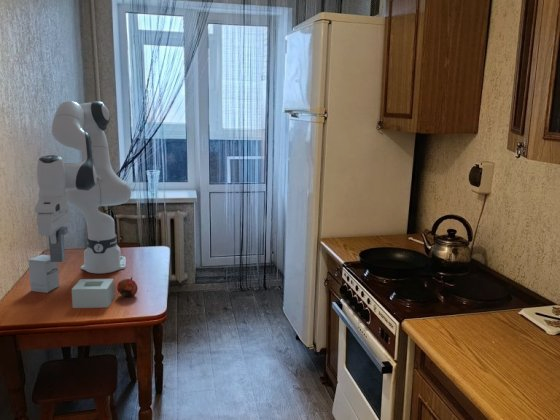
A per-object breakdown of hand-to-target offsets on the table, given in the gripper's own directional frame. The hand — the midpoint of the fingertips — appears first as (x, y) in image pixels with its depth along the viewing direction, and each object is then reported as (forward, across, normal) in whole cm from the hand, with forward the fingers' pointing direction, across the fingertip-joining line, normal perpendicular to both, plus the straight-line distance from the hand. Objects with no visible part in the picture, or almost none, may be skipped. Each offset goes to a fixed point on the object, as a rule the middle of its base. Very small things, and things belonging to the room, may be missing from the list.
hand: (56, 241), depth 165 cm
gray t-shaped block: (+7, 0, 0) cm, 7 cm away
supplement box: (+23, -13, -10) cm, 28 cm away
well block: (+23, +1, +12) cm, 26 cm away
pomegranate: (+23, -3, +23) cm, 33 cm away
